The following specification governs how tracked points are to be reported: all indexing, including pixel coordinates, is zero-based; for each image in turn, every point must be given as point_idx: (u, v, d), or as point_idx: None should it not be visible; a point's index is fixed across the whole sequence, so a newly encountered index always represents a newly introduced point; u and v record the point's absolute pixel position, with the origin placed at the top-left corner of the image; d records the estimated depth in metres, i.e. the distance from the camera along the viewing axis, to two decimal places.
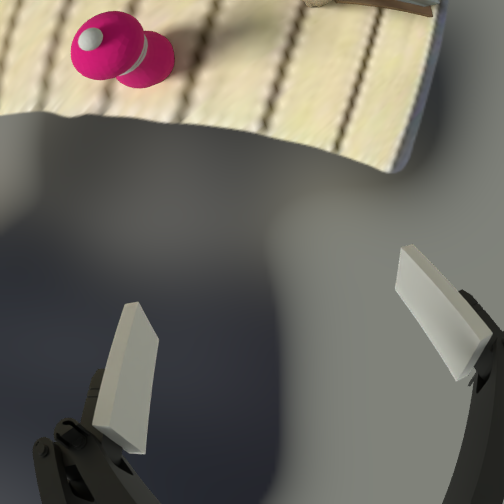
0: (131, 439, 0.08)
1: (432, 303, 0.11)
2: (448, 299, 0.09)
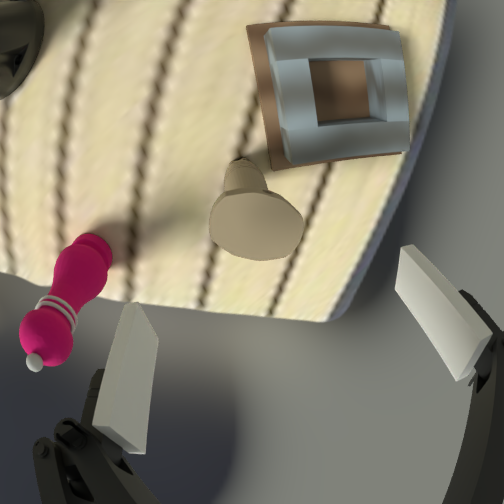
0: (131, 439, 0.08)
1: (432, 303, 0.11)
2: (448, 299, 0.09)
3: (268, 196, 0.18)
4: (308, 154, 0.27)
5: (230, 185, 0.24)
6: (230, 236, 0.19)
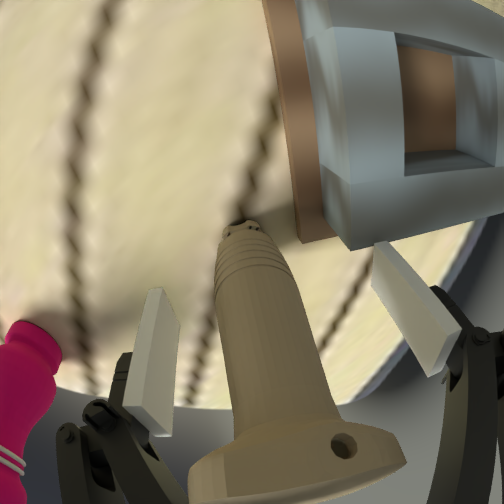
0: (160, 420, 0.09)
1: (403, 298, 0.11)
2: (417, 294, 0.10)
3: (350, 475, 0.05)
4: (380, 230, 0.13)
5: (228, 330, 0.10)
6: None
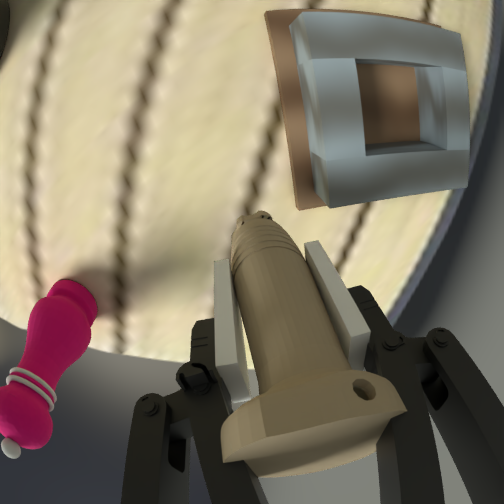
0: (245, 381, 0.10)
1: (324, 297, 0.12)
2: (330, 293, 0.11)
3: (372, 414, 0.06)
4: (350, 194, 0.20)
5: (250, 302, 0.12)
6: (269, 467, 0.07)
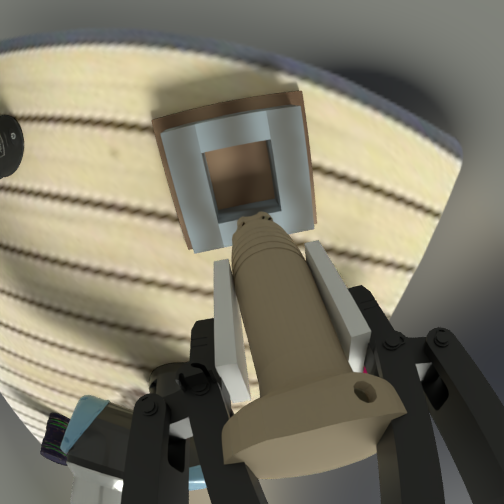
0: (245, 382, 0.10)
1: (324, 297, 0.12)
2: (331, 293, 0.11)
3: (373, 416, 0.06)
4: (306, 217, 0.32)
5: (251, 304, 0.12)
6: (269, 469, 0.07)
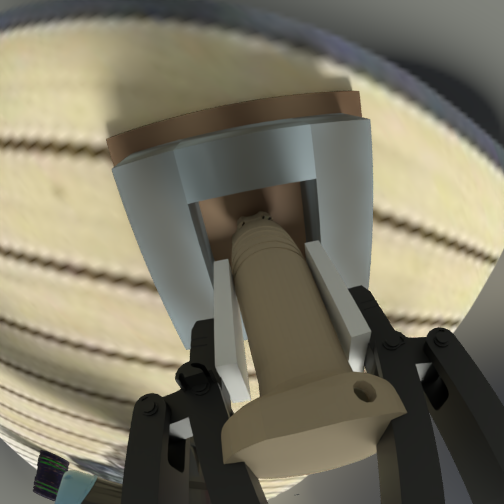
0: (245, 382, 0.10)
1: (324, 297, 0.12)
2: (331, 293, 0.11)
3: (373, 416, 0.06)
4: None
5: (251, 303, 0.12)
6: (269, 469, 0.07)
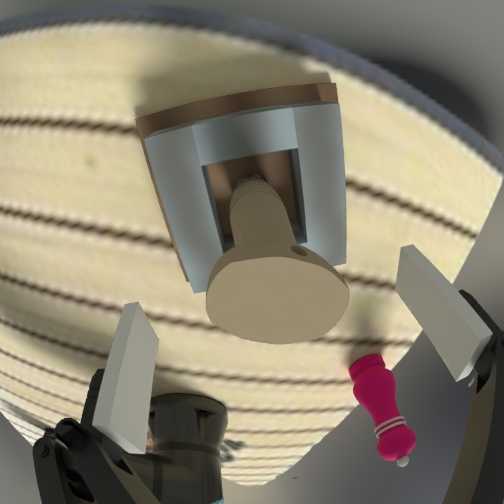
0: (131, 439, 0.08)
1: (432, 303, 0.11)
2: (448, 299, 0.09)
3: (301, 262, 0.11)
4: (337, 249, 0.25)
5: (238, 222, 0.17)
6: (238, 317, 0.12)
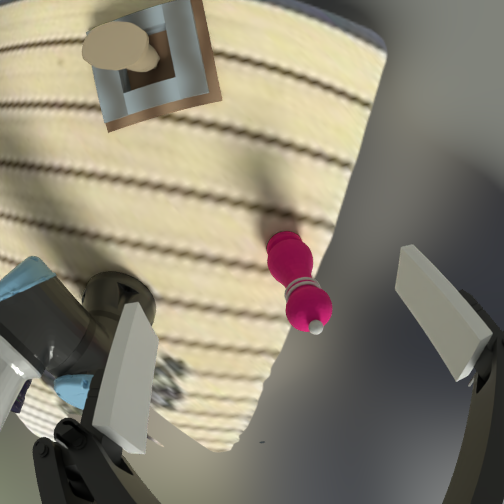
0: (131, 439, 0.08)
1: (432, 303, 0.11)
2: (448, 299, 0.09)
3: (120, 22, 0.17)
4: (199, 81, 0.30)
5: None
6: (94, 53, 0.18)
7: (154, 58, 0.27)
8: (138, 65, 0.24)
